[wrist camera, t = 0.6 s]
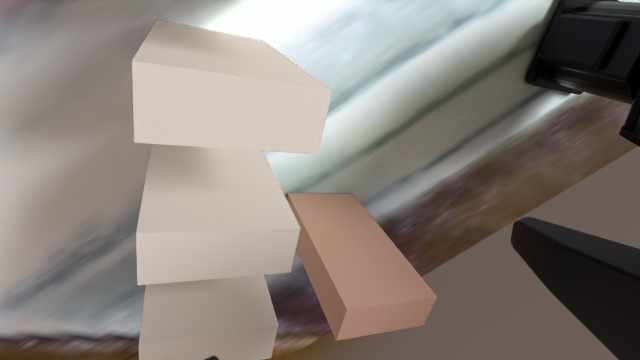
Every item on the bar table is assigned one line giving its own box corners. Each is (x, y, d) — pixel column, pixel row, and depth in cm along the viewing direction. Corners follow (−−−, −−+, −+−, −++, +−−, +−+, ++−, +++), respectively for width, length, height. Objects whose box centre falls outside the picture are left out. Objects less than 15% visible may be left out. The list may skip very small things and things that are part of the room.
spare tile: (287, 192, 23) (346, 309, 15) (352, 193, 25) (436, 296, 17) (282, 217, 24) (336, 340, 16) (346, 216, 26) (423, 325, 18)
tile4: (156, 118, 18) (135, 233, 10) (251, 126, 20) (300, 228, 12) (156, 153, 19) (137, 285, 11) (247, 157, 21) (290, 272, 13)
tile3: (156, 19, 16) (131, 60, 8) (262, 40, 18) (332, 90, 10) (156, 63, 17) (134, 142, 9) (257, 78, 19) (317, 154, 10)
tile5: (156, 196, 20) (138, 345, 12) (242, 197, 22) (278, 325, 14) (155, 224, 21) (139, 382, 13) (238, 223, 23) (271, 357, 15)
